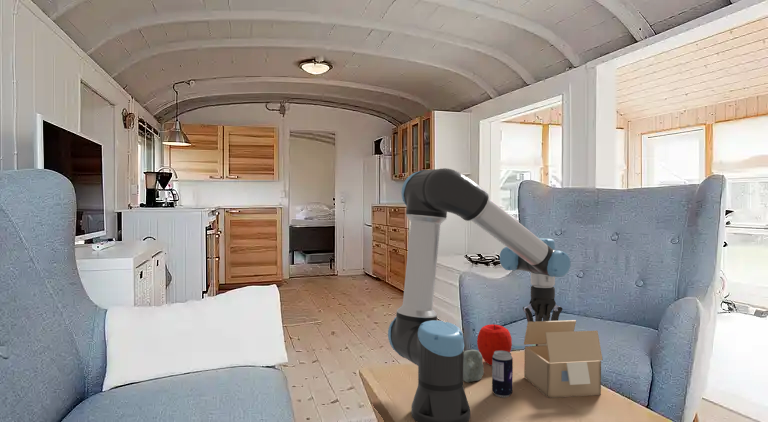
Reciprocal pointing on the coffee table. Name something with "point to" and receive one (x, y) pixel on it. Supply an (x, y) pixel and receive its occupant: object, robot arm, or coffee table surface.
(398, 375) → the coffee table surface
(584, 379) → the near flap
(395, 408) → the coffee table surface
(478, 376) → the decorative stone
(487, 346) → the apple
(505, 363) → the beverage can
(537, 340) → the far flap
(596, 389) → the carton
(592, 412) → the coffee table surface
